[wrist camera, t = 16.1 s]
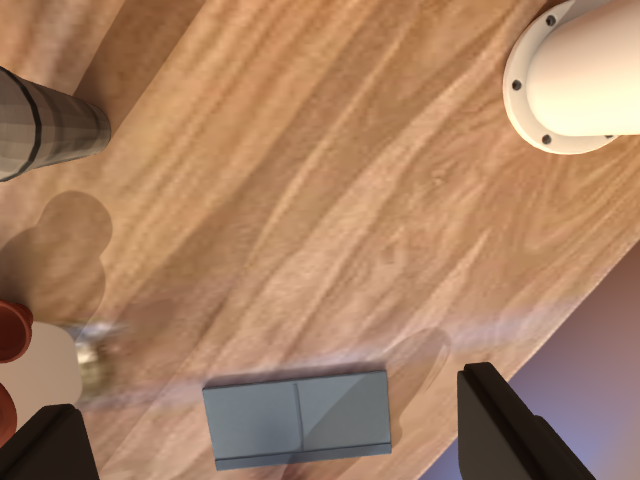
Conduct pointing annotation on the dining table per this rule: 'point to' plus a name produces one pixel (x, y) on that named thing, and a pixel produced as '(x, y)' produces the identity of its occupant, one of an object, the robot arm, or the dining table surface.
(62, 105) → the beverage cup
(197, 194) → the dining table surface
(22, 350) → the pottery
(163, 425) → the dining table surface
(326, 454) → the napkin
